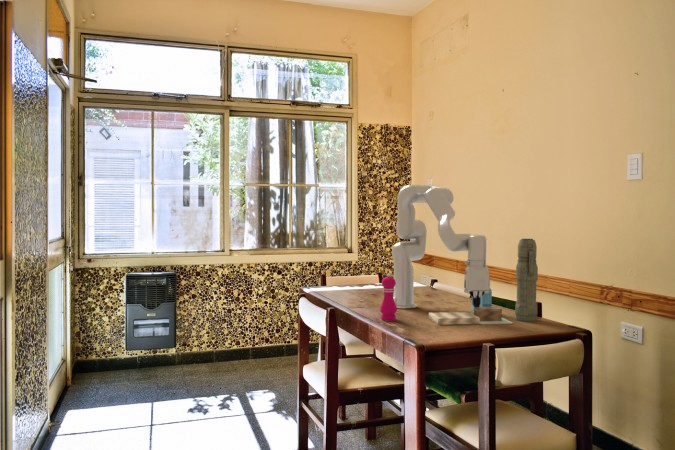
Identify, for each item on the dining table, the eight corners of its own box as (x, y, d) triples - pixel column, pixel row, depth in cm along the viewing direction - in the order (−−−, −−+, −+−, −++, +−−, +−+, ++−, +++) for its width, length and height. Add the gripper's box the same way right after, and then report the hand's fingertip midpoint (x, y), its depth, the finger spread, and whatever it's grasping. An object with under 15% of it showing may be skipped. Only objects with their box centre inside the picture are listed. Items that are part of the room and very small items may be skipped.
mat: (480, 324, 226) (480, 323, 226) (467, 317, 241) (467, 316, 241) (512, 323, 228) (512, 322, 228) (498, 316, 242) (498, 315, 242)
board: (437, 324, 225) (437, 318, 225) (428, 318, 238) (428, 312, 238) (479, 323, 227) (479, 317, 227) (468, 317, 240) (468, 311, 240)
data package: (491, 315, 246) (492, 288, 246) (482, 315, 245) (482, 288, 245) (480, 310, 258) (480, 285, 257) (471, 310, 257) (471, 285, 257)
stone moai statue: (523, 323, 229) (524, 239, 228) (510, 317, 240) (511, 238, 239) (542, 322, 230) (544, 239, 229) (529, 317, 242) (530, 238, 241)
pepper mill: (398, 318, 237) (398, 272, 237) (394, 321, 230) (395, 274, 230) (382, 317, 240) (382, 271, 239) (378, 320, 233) (378, 273, 232)
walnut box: (478, 321, 230) (478, 309, 230) (473, 318, 236) (473, 306, 236) (501, 320, 231) (502, 309, 231) (496, 318, 237) (496, 306, 237)
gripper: (463, 264, 228) (462, 308, 229) (497, 264, 230) (496, 308, 230) (457, 263, 236) (456, 305, 236) (490, 262, 237) (489, 304, 238)
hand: (476, 306), depth 233 cm, fingers closed
